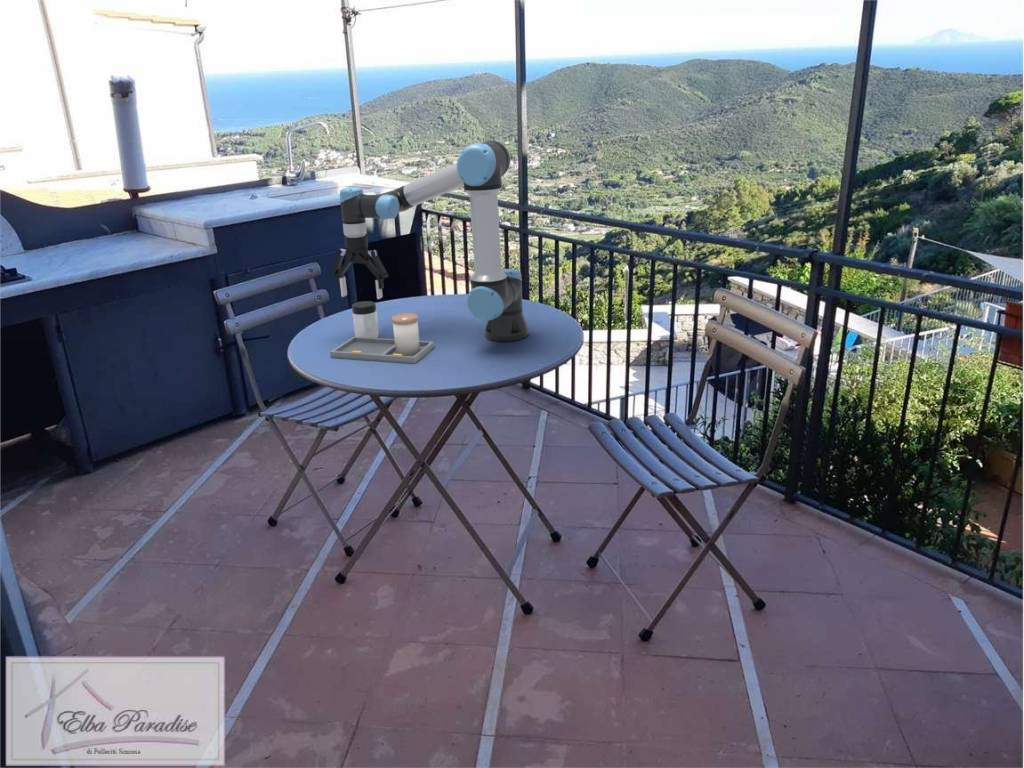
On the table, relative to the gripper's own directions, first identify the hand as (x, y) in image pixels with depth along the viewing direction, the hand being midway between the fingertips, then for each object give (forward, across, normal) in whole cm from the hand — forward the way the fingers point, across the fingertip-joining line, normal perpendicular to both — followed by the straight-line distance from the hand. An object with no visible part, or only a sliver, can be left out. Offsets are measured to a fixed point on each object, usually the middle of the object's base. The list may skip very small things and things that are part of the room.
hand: (362, 297), depth 257 cm
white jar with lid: (+14, -22, +14) cm, 30 cm away
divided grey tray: (+14, -14, +14) cm, 24 cm away
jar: (+15, 0, 0) cm, 15 cm away
